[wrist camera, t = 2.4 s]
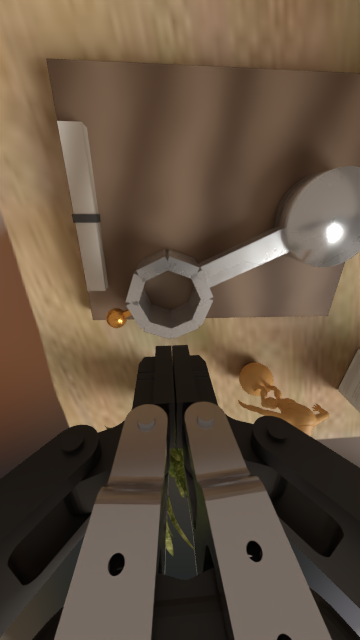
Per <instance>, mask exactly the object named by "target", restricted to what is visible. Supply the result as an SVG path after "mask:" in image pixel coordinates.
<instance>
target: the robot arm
mask: <svg viewBox="0 0 360 640" xmlns="http://www.w3.org/2000/svg"><path fill="white" fill-rule="evenodd" d="M175 428H176V444H177V448H183V459H184V462H183V470H184V478H185V484H186V490H187V497H188V503H189V510H190V516H191V522H192V529H193V537H194V550H195V560H196V569H197V576H196V577H194V578H192V579H189V580H180V579H177V578H174V577H170V576H166V575H165V547H166V520H167V499H168V478H169V477H168V476H169V468H170V449H175ZM85 533H86V534H85ZM84 534H85V538H84V541H83V544H82V547H81V551H80V554H79V557H78V561H77V564H76V568H75V571H74V574H73V578H72V581H71V584H70V588H69V591H68V595H67V598H66V601H65V605H64V607H62V608H61V609H60V610H59V611H58V612H57V613H56V614H55V615H54V616H53V617H52V618H51V619H50V620H49V621H48V622H47V623H46V624H45V625H44V626H43V628H42V629H41V630H40V631H39V632H38V633H37V635H36V636H35V637H34V638H33V639H32V640H360V637H359V636H358V635H357V634H356V632H355V631H353V629H352V628H351V627H350V626H349V625H348V624H347V623H346V622H345V620H344V619H343V618H342V617H341V616H340V615H339V614H338V613H337V612H336V611H335V610H334V609H333V608H332V606H331V605H330V604H328V603H327V602H326V601H325V600H324V599H323V598H322V597H321V596H320V595H319V594H317V593H316V592H315V591H314V590H312V589H311V588H310V587H308V584H307V582H306V580H305V577H304V575H303V573H302V571H301V568H300V566H299V564H298V562H297V559H296V557H295V555H294V552H293V550H292V548H291V546H290V544H289V541H288V539H287V537H288V538H289V539H290V540H291V541H292V542H293V543H294V544H295V545H296V546H297V547H298V548H299V549H300V550H301V551H302V552H303V553H304V554H305V555H306V556H307V557H308V558H309V559H310V560H311V561H312V562H313V563H314V564H315V565H316V566H317V567H318V568H319V569H320V570H321V571H322V572H323V573H325V575H326V576H327V577H328V578H329V579H330V580H331V581H332V582H333V583H334V584H335V585H336V586H337V587H339V588H340V589H341V590H342V591H343V592H344V593H345V594H346V595H347V596H348V597H349V598H350V599H351V600H352V601H353V602H354V603H355V604H356V605H357V606H358V607H359V608H360V468H359V467H358V466H356V465H354V464H353V463H351V462H350V461H348V460H347V459H345V458H343V457H342V456H340V455H339V454H337V453H336V452H334V451H332V450H331V449H329V448H327V447H326V446H325V445H323V444H321V443H320V442H318V441H317V440H315V439H314V438H312V437H310V436H309V435H307V434H306V433H304V432H303V431H301V430H299V429H298V428H296V427H295V426H293V425H292V424H290V423H288V422H287V421H285V420H283V419H281V418H278V417H275V416H263V417H260V418H258V419H257V420H256V421H255V423H254V424H250V423H246V422H242V421H238V420H235V419H232V418H230V417H229V416H227V415H226V414H225V413H224V411H223V410H222V409H221V408H220V407H219V406H218V404H217V400H216V397H215V393H214V390H213V386H212V383H211V379H210V376H209V373H208V369H207V366H206V362H205V361H204V360H203V359H202V358H201V357H200V356H199V355H191V356H190V355H189V350H188V345H174V346H172V351H171V346H156V354H155V357H144V359H143V360H142V361H141V362H140V364H139V368H138V374H137V381H136V388H135V394H134V401H133V407H132V411H130V412H129V414H128V415H127V417H126V419H125V421H123V422H122V423H121V424H119V425H117V426H116V427H113V428H110V429H108V430H105V431H102V432H99V433H97V431H96V430H95V429H94V428H93V427H91V426H88V425H77V426H73V427H70V428H68V429H66V430H64V431H63V432H61V433H60V434H58V435H57V436H56V437H55V438H53V439H52V440H51V441H49V442H48V443H47V444H45V445H44V446H43V447H42V448H40V449H39V450H38V451H37V452H35V453H34V454H32V455H31V456H30V457H28V458H27V459H26V460H25V461H23V462H22V463H21V464H19V465H18V466H17V467H15V468H14V469H13V470H11V471H10V472H9V473H8V474H6V475H5V476H4V477H3V478H1V479H0V637H1V636H2V635H3V633H4V632H5V631H6V629H7V628H8V627H9V626H10V625H11V624H12V622H13V621H14V620H15V619H16V617H17V616H18V615H19V614H20V613H21V611H22V610H23V609H24V608H25V606H26V605H27V604H28V603H29V602H30V600H31V599H32V598H33V597H34V596H35V594H36V593H37V592H38V591H39V589H40V588H41V587H42V586H43V584H44V583H45V582H46V581H47V579H48V578H49V577H50V576H51V575H52V573H53V572H54V571H55V570H56V569H57V567H58V566H59V565H60V564H61V563H62V561H63V560H64V559H65V557H66V556H67V555H68V554H69V553H70V552H71V550H72V549H73V548H74V547H75V545H76V544H77V543H78V542H79V541H80V539H81V538H82V537H83V536H84ZM286 536H287V537H286Z"/></svg>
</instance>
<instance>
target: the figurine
mask: <svg viewBox="0 0 360 640" xmlns="http://www.w3.org/2000/svg"><path fill="white" fill-rule="evenodd" d="M239 381H240V384H241V386H242V388H243V389H244V390H245V391H246V392H247V393H248V394H250V395H253V396H261V401H262V403H261V404H262V406H263V407H265V408H270V409H276V408H277V407H278V408H279V409H280V411H281V413H277V412H273V411H269V410H263V409H261V408H259V407H255V406H251V405H246V404H244V403H242V402H240V401H239V400H238V401H239V404H240V405H241V406H242V407H244V408H246V409H248V410H250V411H254V412H258V413H259V414H262V415H265V416H275V417H278V418H281V419H283V420H285V421H287V422H288V423H290V424H292V425H293V426H295V427H296V428H298V429H299V430H301V431H303V432H304V433H306V434H307V435H309V436H310V437H311V433H312V430H313V428H314V427H315V426H316V425H318V424H319V423H320V422H321V421H323V420H325V419H327V418H328V417H329V413H328V412H327V411H325V410H324V409H322V408H321V407H320V406H319V405H318V404H316V403H315V404H316V405H317V406H315V405H314V406H315V407H312V408H314V409H315V410H313V411H319V412H320V413H319V414H317V415H314V413H313V412H312V411H311V410H310V409H308V408H307V407H305V406H303V405H301V404H298V403H296V402H295V401H294V400H292V399H289V398H285V399H281V396H282V395H281V392H280V390H278V389H277V387H275V386H273V376H272V373H271V371H270V370H269V369H268V368H267V367H266V366H265V365H263V364H260V363H250V364H247V365H246V366H244V367H243V368H242V370H241V372H240V375H239ZM270 390H274V391H275V392H274V394H275V397H276V399H277V400H276V399H274V398H272V397H269V398H266V397H267V393H268V392H270Z"/></svg>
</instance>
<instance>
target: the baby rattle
mask: <svg viewBox="0 0 360 640" xmlns="http://www.w3.org/2000/svg"><path fill="white" fill-rule="evenodd" d="M359 251H360V167H357V166H344V167H340V168H336V169H332V170H328V171H324V172H320V173H316V174H312V175H309V176H307V177H305V178H303V179H301V180H300V181H298V182H297V183H295V184H294V185H293V186H292V187H291V188H290V189H289V190H288V191H287V192H286V194H285V195H284V197H283V198H282V200H281V201H280V203H279V205H278V208H277V210H276V213H275V217H274V222H273V229H270V230H268V231H266V232H264V233H262V234H260V235H258V236H256V237H253V238H251V239H249V240H247V241H245V242H243V243H241V244H238V245H236V246H234V247H232V248H230V249H228V250H226V251H224V252H221V253H219V254H217V255H215V256H213V257H211V258H209V259H206V260H204V261H202V262H200V263H197V261H196V260H194V258H193V257H190V256H188V255H185V254H182V253H180V252H177V251H174V250H172V249H168V251H166V249H163V250H161V251H159V252H157V253H155V254H153V255H151V256H149V257H147V258H145V259H143V260H141V262H140V263H139V264H138V266H137V268H136V270H135V272H134V274H133V278H132V281H131V285H130V288H129V292H128V295H127V298H126V302H127V304H126V306H127V308H128V309H127V310H125V311H123V310H122V309H119V308H114V309H111V310H110V311H109V312H108V313H107V316H106V320H107V323H108V324H109V325H110V326H111V327H113V328H120V327H122V326H123V325H124V324H125V323H126V321H127V317H128V316H131V315H132V316H133V318H134V319H135V321H136V322H137V324H138V326H139V327H140V329H142V328H144V332H148V333H151V334H154V335H158V336H161V337H165V338H168V339H171V336H173V338H174V339H175V338H177V337H179V336H182V335H184V334H186V333H189V332H191V331H193V330H196V329H198V328H199V326H198V325H201V326H202V324H203V322H204V320H205V318H206V315H207V313H208V311H209V309H210V307H211V304H212V302H213V299H212V297H213V295H212V293H211V290H210V287H212V286H215V285H217V284H219V283H221V282H224V281H226V280H228V279H230V278H232V277H235V276H237V275H239V274H241V273H244V272H246V271H248V270H250V269H253V268H255V267H257V266H259V265H261V264H264V263H266V262H268V261H270V260H273V259H275V258H277V257H279V256H281V255H284V254H285V255H286V256H288V257H290V258H292V259H295V260H298V261H300V262H303V263H306V264H308V265H311V266H315V267H331V266H335V265H338V264H341V263H343V262H345V261H347V260H348V259H350V258H352V257H353V256H354V255H356V254H357V253H358V252H359ZM168 270H169V271H171V272H174V273H177V274H180V275H183V276H185V277H188V278H191V279H192V281H193V283H194V285H195V286H194V288H193V291H192V293H191V295H190V298H189V300H188V302H187V303H185V304H183V305H181V306H178V307H176V308H174V309H172V310H169V309H166V308H162V307H159V306H156V305H153V304H152V303H151V301H150V299H149V297H148V296H147V294H146V292H145V290H144V284H145V281H147V280H149V279H151V278H153V277H155V276H157V275H159V274H161V273H163V272H166V271H168Z"/></svg>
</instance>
